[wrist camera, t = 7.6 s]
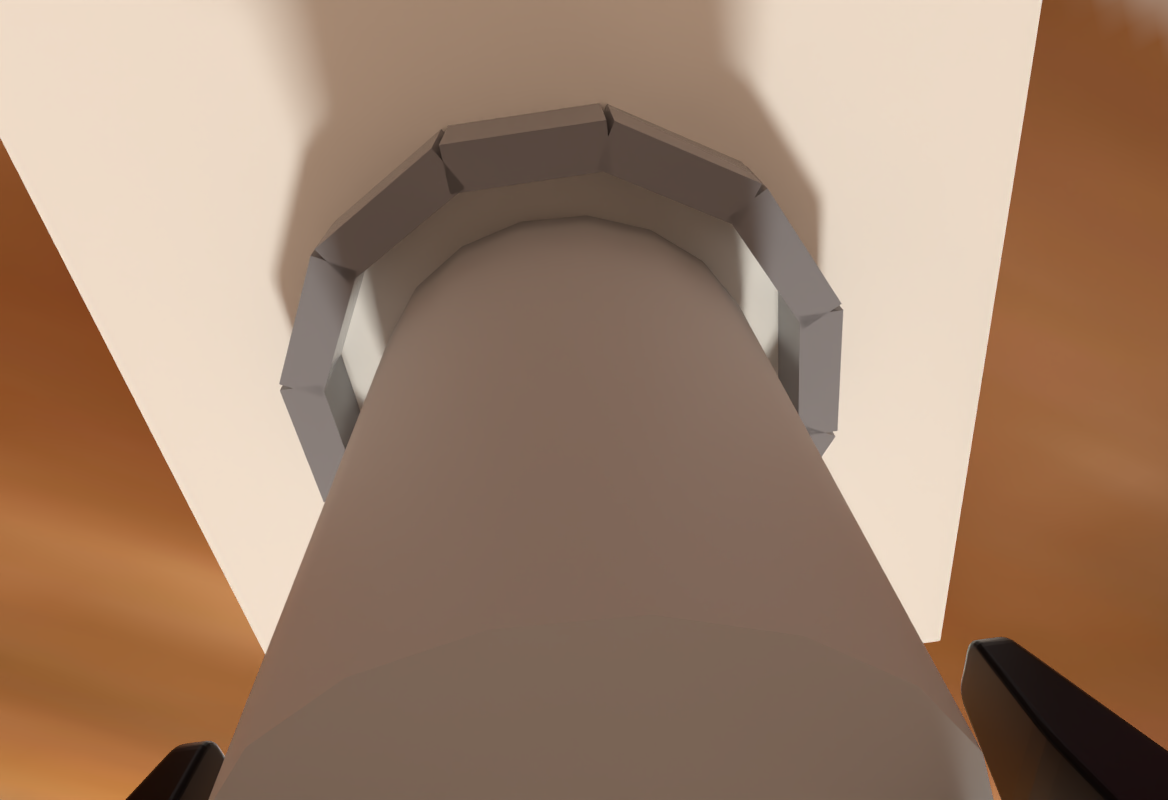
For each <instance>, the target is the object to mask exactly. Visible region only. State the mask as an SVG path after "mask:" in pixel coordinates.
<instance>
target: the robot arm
mask: <svg viewBox="0 0 1168 800" xmlns="http://www.w3.org/2000/svg"><path fill="white" fill-rule="evenodd" d="M961 695H962V700H963V704H964V707H965V709H966V712H967V715H968V717H969V720H970V722H971V725H972V727H973V730H974V732H975V735H976V737H977V740H978V742H979V745H980V747H981V750H982V752H983V755H984V757H985V760H986V762H987V765H988V767H989V770H990V772H991V775H992V777H993V780H994V782H995V785H996V787H997V790H998V792H999V795H1000V797H1001V800H1168V751H1167V750H1165V749H1164V748H1162V747H1161V746H1160V745H1158V744H1157V743H1155V742H1154V741H1153V740H1151V739H1150V738H1148V737H1147V736H1146V735H1144V734H1143V733H1142V732H1140V731H1139V730H1137V729H1136V728H1135V727H1133V726H1132V725H1130V724H1129V723H1128V722H1126V721H1125V720H1123V719H1122V718H1121V717H1119V716H1118V715H1116V714H1115V713H1114V712H1112V711H1111V710H1109V709H1108V708H1107V707H1105V706H1104V705H1102V704H1101V703H1100V702H1098V701H1097V700H1096V699H1094V698H1093V697H1091V696H1090V695H1089V694H1087V693H1086V692H1084V691H1083V690H1082V689H1080V688H1079V687H1077V686H1076V685H1075V684H1073V683H1072V682H1070V681H1069V680H1068V679H1066V678H1065V677H1063V676H1062V675H1061V674H1059V673H1058V672H1057V671H1055V670H1054V669H1052V668H1051V667H1050V666H1048V665H1047V664H1045V663H1044V662H1043V661H1041V660H1040V659H1038V658H1037V657H1036V656H1034V655H1033V654H1031V653H1030V652H1029V651H1027V650H1026V649H1024V648H1023V647H1022V646H1020V645H1019V644H1017V643H1016V642H1014V641H1013V640H1011V639H1008V638H1005V637H996V638H989V639H981V640H975V641H973V642H972V643H971V644H970V645H969V647H968V650H967V655H966V660H965V666H964V671H963V676H962V682H961ZM224 759H225V756H224V754H223V753H222V751H221V750H220V748H219V746H218V745H217V744H216V743H214V742H212V741H202V742H194V743H187V744H182V745H179V746H177V747H176V748H174V749H173V750H172V751H171V752H170V753H169V754H168V755H167V756H166V757H165V758H164V759H163V760H162V761H161V762H160V763H159V764H158V765H157V767H156V768H155V769H154V770H153V771H152V772H151V773H150V774H149V775H148V776H147V777H146V778H145V779H144V780H143V782H142V783H141V784H140V785H139V786H138V787H137V788H136V789H135V790H134V791H133V792H132V793H131V794H130V795H129V797H128V798H127V799H126V800H209V797H210V794H211V792H212V789H213V787H214V784H215V782H216V779H217V777H218V774H219V771H220V769H221V766H222V764H223V761H224Z"/></svg>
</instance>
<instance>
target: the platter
mask: <svg viewBox="0 0 1168 800" xmlns="http://www.w3.org/2000/svg"><path fill="white" fill-rule="evenodd" d="M1041 5H1042V0H0V138H1V140H2V142H3V144H4V146H5V148H6V150H7V152H8V154H9V156H10V158H11V159H12V161H13V163H14V165H15V167H16V169H17V171H18V173H19V175H20V177H21V179H22V181H23V183H24V185H25V187H26V189H27V191H28V193H29V195H30V197H31V198H32V200H33V202H34V204H35V206H36V208H37V210H38V212H39V214H40V216H41V218H42V220H43V222H44V224H45V226H46V228H47V230H48V232H49V234H50V236H51V237H52V239H53V241H54V243H55V245H56V247H57V249H58V251H59V253H60V255H61V257H62V259H63V261H64V263H65V265H66V267H67V269H68V271H69V273H70V275H71V276H72V278H73V280H74V282H75V284H76V286H77V288H78V290H79V292H80V294H81V296H82V298H83V300H84V302H85V304H86V306H87V308H88V310H89V312H90V314H91V315H92V317H93V319H94V321H95V323H96V325H97V327H98V329H99V331H100V333H101V335H102V337H103V339H104V341H105V343H106V345H107V347H108V349H109V351H110V353H111V354H112V356H113V358H114V360H115V362H116V364H117V366H118V368H119V370H120V372H121V374H122V376H123V378H124V380H125V382H126V384H127V386H128V388H129V390H130V392H131V393H132V395H133V397H134V399H135V401H136V403H137V405H138V407H139V409H140V411H141V413H142V415H143V417H144V419H145V421H146V423H147V425H148V427H149V429H150V431H151V432H152V434H153V436H154V438H155V440H156V442H157V444H158V446H159V448H160V450H161V452H162V454H163V456H164V458H165V460H166V462H167V464H168V466H169V468H170V470H171V471H172V473H173V475H174V477H175V479H176V481H177V483H178V485H179V487H180V489H181V491H182V493H183V495H184V497H185V499H186V501H187V503H188V505H189V507H190V509H191V510H192V512H193V514H194V516H195V518H196V520H197V522H198V524H199V526H200V528H201V530H202V532H203V534H204V536H205V538H206V540H207V542H208V544H209V546H210V548H211V549H212V551H213V553H214V555H215V557H216V559H217V561H218V563H219V565H220V567H221V569H222V571H223V573H224V575H225V577H226V579H227V581H228V583H229V585H230V587H231V588H232V590H233V592H234V594H235V596H236V598H237V600H238V602H239V604H240V606H241V608H242V610H243V612H244V614H245V616H246V618H247V620H248V622H249V624H250V626H251V627H252V629H253V631H254V633H255V635H256V637H257V639H258V641H259V643H260V645H261V647H262V649H263V651H264V653H265V654H266V651H267V649H268V646H269V644H270V641H271V639H272V636H273V634H274V631H275V628H276V626H277V623H278V621H279V618H280V616H281V613H282V611H283V608H284V605H285V603H286V600H287V598H288V595H289V593H290V590H291V588H292V585H293V582H294V580H295V577H296V575H297V572H298V570H299V567H300V565H301V562H302V559H303V557H304V554H305V552H306V549H307V547H308V544H309V542H310V539H311V536H312V534H313V531H314V529H315V526H316V524H317V521H318V519H319V516H320V513H321V511H322V508H323V506H324V503H325V501H326V498H327V496H328V493H329V490H330V488H331V485H332V483H333V480H334V478H335V475H336V473H337V470H338V467H339V465H340V462H341V460H342V457H343V455H344V452H345V450H346V447H347V444H348V442H349V439H350V437H351V434H352V432H353V429H354V427H355V424H356V421H357V419H358V416H359V414H360V411H361V409H362V406H363V404H364V401H365V398H366V396H367V393H368V391H369V388H370V386H371V383H372V381H373V378H374V375H375V373H376V370H377V368H378V365H379V363H380V360H381V358H382V355H383V352H384V350H385V347H386V345H387V342H388V340H389V337H390V335H391V333H392V331H393V330H394V328H395V326H396V324H397V322H398V320H399V318H400V317H401V315H402V313H403V311H404V309H405V307H406V305H407V303H408V302H409V300H410V298H411V296H412V294H413V292H414V290H415V288H416V287H417V286H418V285H419V284H420V283H422V282H423V281H424V280H425V279H426V278H427V277H428V276H429V275H430V274H432V273H433V272H434V271H435V270H436V269H437V268H438V267H439V266H441V265H442V264H443V263H444V262H445V261H446V260H447V259H448V258H449V257H451V256H452V255H453V254H454V253H455V252H456V251H457V250H458V249H460V248H461V247H462V246H464V245H467V244H469V243H472V242H474V241H476V240H479V239H481V238H483V237H486V236H488V235H490V234H493V233H495V232H497V231H500V230H502V229H504V228H507V227H509V226H511V225H514V224H516V223H519V222H521V221H532V220H543V219H554V218H565V217H576V216H592V217H596V218H601V219H605V220H609V221H614V222H618V223H623V224H627V225H632V226H636V227H641V228H645V229H650V230H652V231H653V232H655V233H657V234H658V235H660V236H662V237H663V238H665V239H667V240H668V241H670V242H672V243H673V244H675V245H677V246H678V247H680V248H682V249H683V250H685V251H687V252H688V253H690V254H692V255H693V256H695V257H697V258H698V259H700V260H702V261H703V262H704V263H705V264H706V266H707V267H708V268H709V269H710V271H711V272H712V273H713V274H714V275H715V277H716V278H717V279H718V280H719V282H720V283H721V284H722V285H723V286H724V288H725V289H726V290H727V291H728V293H729V294H730V295H731V296H732V297H733V299H734V300H735V301H736V302H737V304H738V305H739V306H740V308H741V310H742V312H743V314H744V316H745V317H746V319H747V321H748V323H749V325H750V327H751V328H752V330H753V332H754V334H755V336H756V338H757V339H758V341H759V343H760V345H761V347H762V349H763V350H764V352H765V354H766V356H767V358H768V360H769V361H770V363H771V365H772V367H773V369H774V371H775V372H776V374H777V376H778V378H779V380H780V382H781V383H782V385H783V387H784V389H785V391H786V393H787V394H788V396H789V398H790V400H791V402H792V404H793V405H794V407H795V409H796V411H797V413H798V415H799V416H800V418H801V420H802V422H803V424H804V426H805V427H806V429H807V431H808V433H809V435H810V437H811V438H812V440H813V442H814V444H815V446H816V448H817V450H818V451H819V453H820V455H821V457H822V459H823V461H824V462H825V464H826V466H827V468H828V470H829V472H830V473H831V475H832V477H833V479H834V481H835V483H836V484H837V486H838V488H839V490H840V492H841V494H842V495H843V497H844V499H845V501H846V503H847V505H848V506H849V508H850V510H851V512H852V514H853V516H854V517H855V519H856V521H857V523H858V525H859V527H860V528H861V530H862V532H863V534H864V536H865V538H866V539H867V541H868V543H869V545H870V547H871V549H872V550H873V552H874V554H875V556H876V558H877V560H878V561H879V563H880V565H881V567H882V569H883V571H884V572H885V574H886V576H887V578H888V580H889V582H890V583H891V585H892V587H893V589H894V591H895V593H896V594H897V596H898V598H899V600H900V602H901V604H902V606H903V607H904V609H905V611H906V613H907V615H908V617H909V618H910V620H911V622H912V624H913V626H914V628H915V629H916V631H917V633H918V635H919V637H920V639H921V640H922V642H923V643H927V642H934V641H940V638H941V632H942V626H943V619H944V613H945V607H946V600H947V594H948V588H949V582H950V575H951V569H952V563H953V557H954V550H955V544H956V538H957V531H958V525H959V519H960V513H961V506H962V500H963V494H964V488H965V481H966V475H967V469H968V463H969V456H970V450H971V444H972V437H973V431H974V425H975V419H976V412H977V406H978V400H979V394H980V387H981V381H982V375H983V368H984V362H985V356H986V350H987V343H988V337H989V331H990V325H991V318H992V312H993V306H994V300H995V293H996V287H997V281H998V274H999V268H1000V262H1001V256H1002V249H1003V243H1004V237H1005V231H1006V224H1007V218H1008V212H1009V205H1010V199H1011V193H1012V187H1013V180H1014V174H1015V168H1016V162H1017V155H1018V149H1019V143H1020V137H1021V130H1022V124H1023V118H1024V111H1025V105H1026V99H1027V93H1028V86H1029V80H1030V74H1031V68H1032V61H1033V55H1034V49H1035V42H1036V36H1037V30H1038V24H1039V17H1040V11H1041Z"/></svg>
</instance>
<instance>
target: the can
mask: <svg viewBox="0 0 1168 800" xmlns="http://www.w3.org/2000/svg"><path fill="white" fill-rule="evenodd" d="M209 800H993V796H992V791H991V787H990V782H989V778H988V773H987V769H986V765H985V760H984V756H983V752H982V750H981V749H980V747H979V745H978V743H977V741H976V739H975V738H974V736H973V734H972V732H971V730H970V728H969V727H968V725H967V723H966V721H965V719H964V717H963V716H962V714H961V712H960V710H959V708H958V706H957V705H956V703H955V701H954V699H953V697H952V695H951V694H950V692H949V690H948V688H947V686H946V684H945V683H944V681H943V679H942V677H941V675H940V673H939V672H938V670H937V668H936V666H935V664H934V662H933V661H932V659H931V657H930V655H929V653H928V651H927V650H926V648H925V646H924V644H923V642H922V640H921V639H920V637H919V635H918V633H917V631H916V629H915V628H914V626H913V624H912V622H911V620H910V618H909V617H908V615H907V613H906V611H905V609H904V607H903V606H902V604H901V602H900V600H899V598H898V596H897V594H896V593H895V591H894V589H893V587H892V585H891V583H890V582H889V580H888V578H887V576H886V574H885V572H884V571H883V569H882V567H881V565H880V563H879V561H878V560H877V558H876V556H875V554H874V552H873V550H872V549H871V547H870V545H869V543H868V541H867V539H866V538H865V536H864V534H863V532H862V530H861V528H860V527H859V525H858V523H857V521H856V519H855V517H854V516H853V514H852V512H851V510H850V508H849V506H848V505H847V503H846V501H845V499H844V497H843V495H842V494H841V492H840V490H839V488H838V486H837V484H836V483H835V481H834V479H833V477H832V475H831V473H830V472H829V470H828V468H827V466H826V464H825V462H824V461H823V459H822V457H821V455H820V453H819V451H818V450H817V448H816V446H815V444H814V442H813V440H812V438H811V437H810V435H809V433H808V431H807V429H806V427H805V426H804V424H803V422H802V420H801V418H800V416H799V415H798V413H797V411H796V409H795V407H794V405H793V404H792V402H791V400H790V398H789V396H788V394H787V393H786V391H785V389H784V387H783V385H782V383H781V382H780V380H779V378H778V376H777V374H776V372H775V371H774V369H773V367H772V365H771V363H770V361H769V360H768V358H767V356H766V354H765V352H764V350H763V349H762V347H761V345H760V343H759V341H758V339H757V338H756V336H755V334H754V332H753V330H752V328H751V327H750V325H749V323H748V321H747V319H746V317H745V316H744V314H743V312H742V310H741V308H740V306H739V305H738V304H737V302H736V301H735V300H734V299H733V297H732V296H731V295H730V294H729V293H728V291H727V290H726V289H725V288H724V286H723V285H722V284H721V283H720V282H719V280H718V279H717V278H716V277H715V275H714V274H713V273H712V272H711V271H710V269H709V268H708V267H707V266H706V264H705V263H704V262H703V261H702V260H700V259H698V258H697V257H695V256H693V255H692V254H690V253H688V252H687V251H685V250H683V249H682V248H680V247H678V246H677V245H675V244H673V243H672V242H670V241H668V240H667V239H665V238H663V237H662V236H660V235H658V234H657V233H655V232H653V231H652V230H650V229H645V228H641V227H636V226H632V225H627V224H623V223H618V222H614V221H609V220H605V219H601V218H596V217H592V216H576V217H565V218H554V219H543V220H532V221H521V222H519V223H516V224H514V225H511V226H509V227H507V228H504V229H502V230H500V231H497V232H495V233H493V234H490V235H488V236H486V237H483V238H481V239H479V240H476V241H474V242H472V243H469V244H467V245H464V246H462V247H461V248H460V249H458V250H457V251H456V252H455V253H454V254H453V255H452V256H451V257H449V258H448V259H447V260H446V261H445V262H444V263H443V264H442V265H441V266H439V267H438V268H437V269H436V270H435V271H434V272H433V273H432V274H430V275H429V276H428V277H427V278H426V279H425V280H424V281H423V282H422V283H420V284H419V285H418V286H417V287H416V288H415V290H414V292H413V294H412V296H411V298H410V300H409V302H408V303H407V305H406V307H405V309H404V311H403V313H402V315H401V317H400V318H399V320H398V322H397V324H396V326H395V328H394V330H393V331H392V333H391V335H390V337H389V340H388V342H387V345H386V347H385V350H384V352H383V355H382V358H381V360H380V363H379V365H378V368H377V370H376V373H375V375H374V378H373V381H372V383H371V386H370V388H369V391H368V393H367V396H366V398H365V401H364V404H363V406H362V409H361V411H360V414H359V416H358V419H357V421H356V424H355V427H354V429H353V432H352V434H351V437H350V439H349V442H348V444H347V447H346V450H345V452H344V455H343V457H342V460H341V462H340V465H339V467H338V470H337V473H336V475H335V478H334V480H333V483H332V485H331V488H330V490H329V493H328V496H327V498H326V501H325V503H324V506H323V508H322V511H321V513H320V516H319V519H318V521H317V524H316V526H315V529H314V531H313V534H312V536H311V539H310V542H309V544H308V547H307V549H306V552H305V554H304V557H303V559H302V562H301V565H300V567H299V570H298V572H297V575H296V577H295V580H294V582H293V585H292V588H291V590H290V593H289V595H288V598H287V600H286V603H285V605H284V608H283V611H282V613H281V616H280V618H279V621H278V623H277V626H276V628H275V631H274V634H273V636H272V639H271V641H270V644H269V646H268V649H267V651H266V654H265V657H264V659H263V662H262V664H261V667H260V669H259V672H258V674H257V677H256V679H255V682H254V685H253V687H252V690H251V692H250V695H249V697H248V700H247V702H246V705H245V708H244V710H243V713H242V715H241V718H240V720H239V723H238V725H237V728H236V731H235V733H234V736H233V738H232V741H231V743H230V746H229V748H228V751H227V754H226V756H225V759H224V761H223V764H222V766H221V769H220V771H219V774H218V777H217V779H216V782H215V784H214V787H213V789H212V792H211V794H210V797H209Z"/></svg>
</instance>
